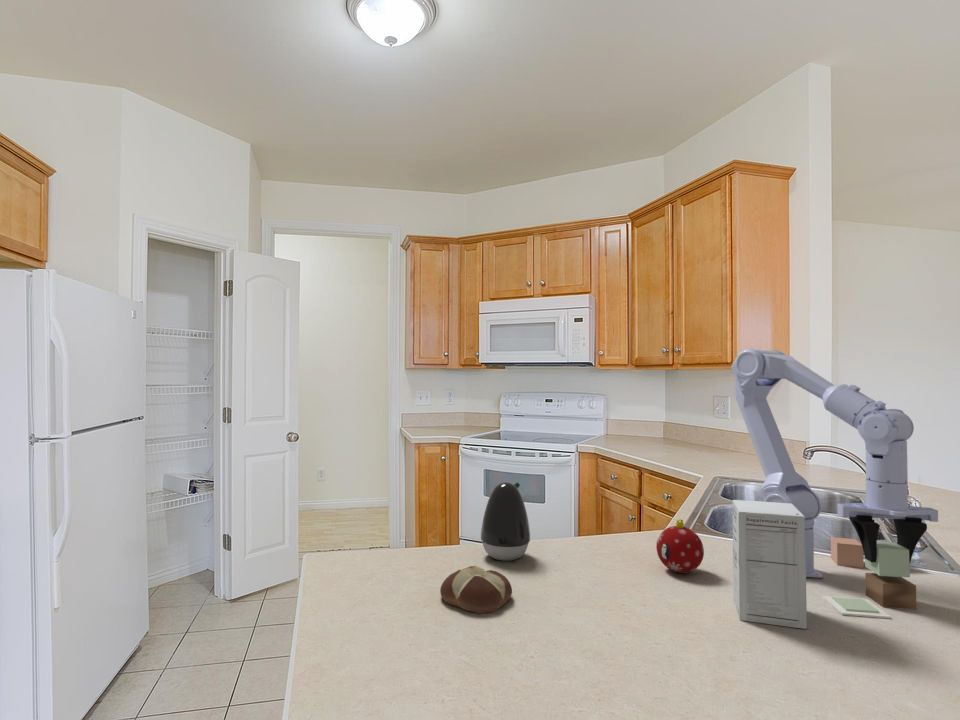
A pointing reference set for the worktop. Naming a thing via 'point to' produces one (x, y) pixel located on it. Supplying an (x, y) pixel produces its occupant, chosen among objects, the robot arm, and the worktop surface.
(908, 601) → the walnut base block
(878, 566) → the sage block
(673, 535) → the christmas ornament
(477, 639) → the worktop surface
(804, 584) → the supplement box
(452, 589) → the bread
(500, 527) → the black egg-shaped figure
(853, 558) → the terracotta block
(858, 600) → the swatch
